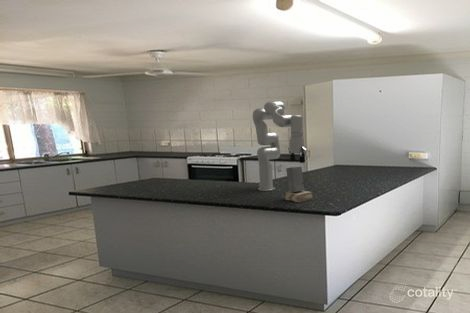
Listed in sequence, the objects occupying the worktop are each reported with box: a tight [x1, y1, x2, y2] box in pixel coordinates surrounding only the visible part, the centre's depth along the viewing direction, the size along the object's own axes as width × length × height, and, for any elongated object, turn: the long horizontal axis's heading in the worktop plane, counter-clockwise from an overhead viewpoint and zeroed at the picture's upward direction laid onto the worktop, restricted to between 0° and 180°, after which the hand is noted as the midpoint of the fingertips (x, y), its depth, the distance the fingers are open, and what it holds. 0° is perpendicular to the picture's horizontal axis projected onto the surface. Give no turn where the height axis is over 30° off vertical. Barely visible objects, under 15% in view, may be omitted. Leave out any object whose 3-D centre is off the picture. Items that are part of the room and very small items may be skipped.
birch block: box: [284, 190, 313, 203], centre depth 239 cm, size 12×12×5 cm
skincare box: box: [285, 166, 305, 192], centre depth 241 cm, size 8×7×16 cm
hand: (297, 161), depth 237 cm, fingers open, 9 cm apart
